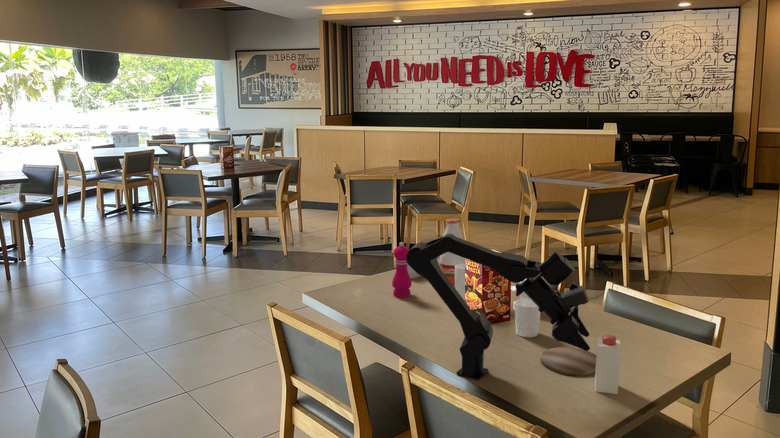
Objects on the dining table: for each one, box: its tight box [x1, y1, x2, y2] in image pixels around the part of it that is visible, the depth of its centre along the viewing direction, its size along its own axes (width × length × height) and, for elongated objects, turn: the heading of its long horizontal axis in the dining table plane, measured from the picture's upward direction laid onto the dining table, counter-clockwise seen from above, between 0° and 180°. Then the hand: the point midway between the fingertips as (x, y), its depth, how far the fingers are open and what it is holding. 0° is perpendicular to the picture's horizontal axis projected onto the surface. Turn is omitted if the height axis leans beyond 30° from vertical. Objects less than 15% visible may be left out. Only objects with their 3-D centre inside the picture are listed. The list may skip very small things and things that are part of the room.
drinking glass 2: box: [455, 263, 466, 300], centre depth 214 cm, size 7×7×15 cm
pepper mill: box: [391, 241, 412, 298], centre depth 228 cm, size 7×7×20 cm
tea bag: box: [407, 264, 421, 280], centre depth 252 cm, size 4×7×10 cm, turn 134°
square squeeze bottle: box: [594, 334, 622, 395], centre depth 154 cm, size 5×5×14 cm
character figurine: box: [510, 279, 530, 311], centre depth 212 cm, size 9×10×12 cm
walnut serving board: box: [540, 346, 597, 377], centre depth 170 cm, size 16×16×1 cm
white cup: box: [514, 299, 542, 338], centre depth 191 cm, size 8×8×10 cm
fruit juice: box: [438, 217, 466, 288], centre depth 228 cm, size 9×9×28 cm
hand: (588, 342), depth 155 cm, fingers open, 9 cm apart
